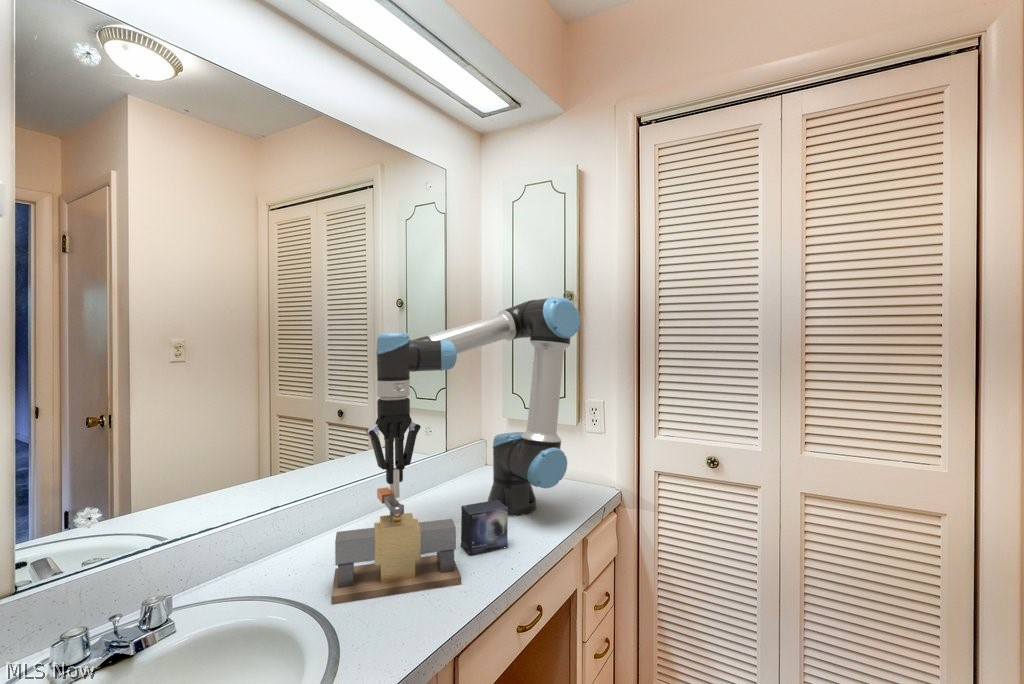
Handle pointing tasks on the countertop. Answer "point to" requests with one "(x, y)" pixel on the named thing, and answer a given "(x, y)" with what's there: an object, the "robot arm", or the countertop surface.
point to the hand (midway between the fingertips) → (394, 496)
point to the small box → (484, 527)
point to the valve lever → (390, 501)
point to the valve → (395, 547)
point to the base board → (371, 586)
